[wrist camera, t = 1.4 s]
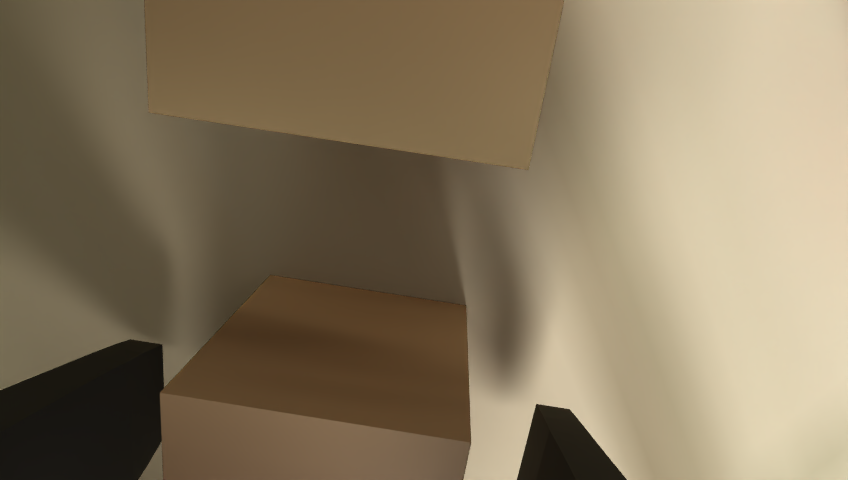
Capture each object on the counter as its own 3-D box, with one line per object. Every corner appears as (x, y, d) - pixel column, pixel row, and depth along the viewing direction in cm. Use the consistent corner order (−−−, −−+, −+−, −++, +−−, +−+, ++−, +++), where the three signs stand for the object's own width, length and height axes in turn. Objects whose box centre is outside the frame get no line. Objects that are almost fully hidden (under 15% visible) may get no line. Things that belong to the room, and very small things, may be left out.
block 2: (437, 460, 11) (426, 655, 8) (265, 432, 11) (168, 611, 8) (466, 303, 10) (471, 442, 6) (272, 273, 10) (160, 392, 6)
